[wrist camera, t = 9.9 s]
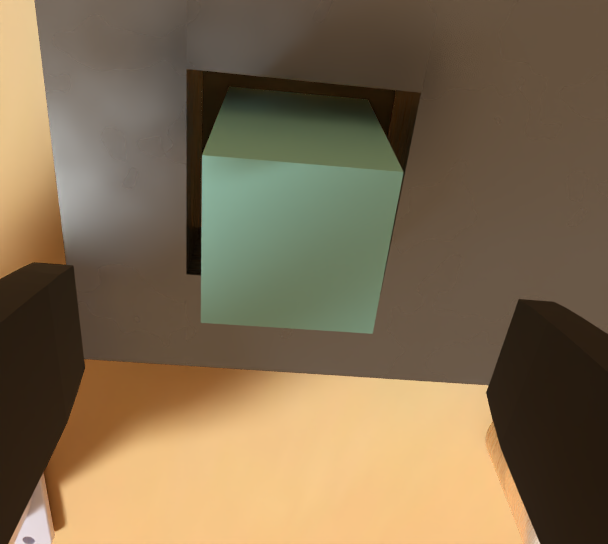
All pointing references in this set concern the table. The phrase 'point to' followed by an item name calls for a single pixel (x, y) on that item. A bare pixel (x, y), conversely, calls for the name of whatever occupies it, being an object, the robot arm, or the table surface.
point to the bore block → (404, 142)
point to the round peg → (510, 488)
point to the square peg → (296, 212)
